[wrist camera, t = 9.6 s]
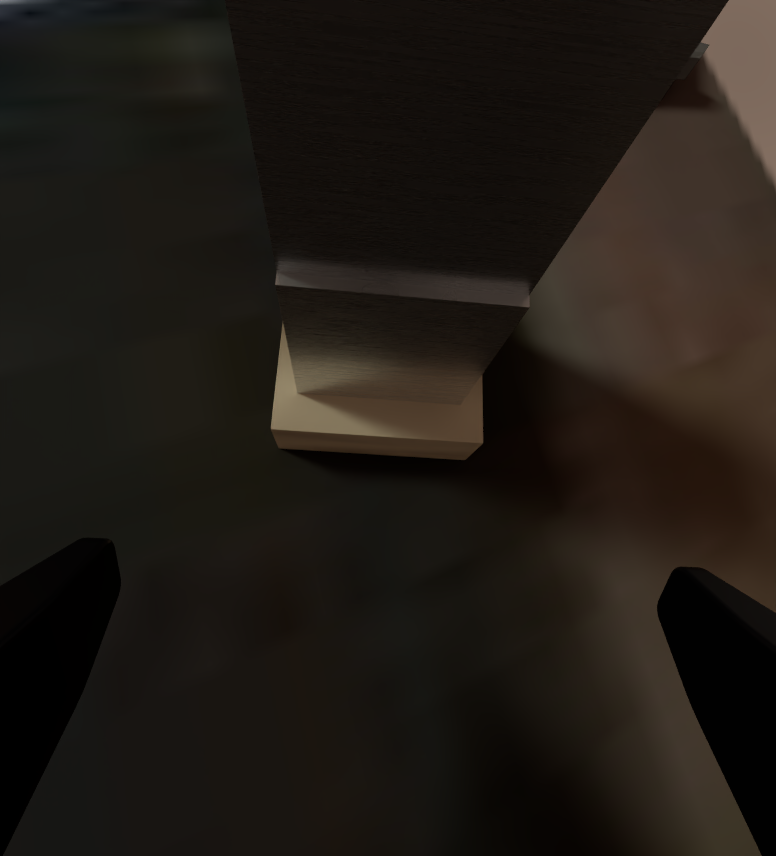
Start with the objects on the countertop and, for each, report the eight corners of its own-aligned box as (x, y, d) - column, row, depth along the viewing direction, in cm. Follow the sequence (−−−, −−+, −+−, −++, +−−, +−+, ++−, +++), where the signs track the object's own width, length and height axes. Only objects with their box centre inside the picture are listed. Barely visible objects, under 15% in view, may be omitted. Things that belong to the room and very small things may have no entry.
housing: (460, 404, 17) (786, -57, 5) (297, 393, 17) (187, -150, 4) (460, 277, 19) (711, -335, 6) (310, 263, 18) (255, -426, 6)
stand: (464, 460, 19) (483, 443, 17) (279, 448, 19) (270, 429, 17) (464, 298, 22) (480, 262, 19) (296, 282, 21) (291, 244, 19)
